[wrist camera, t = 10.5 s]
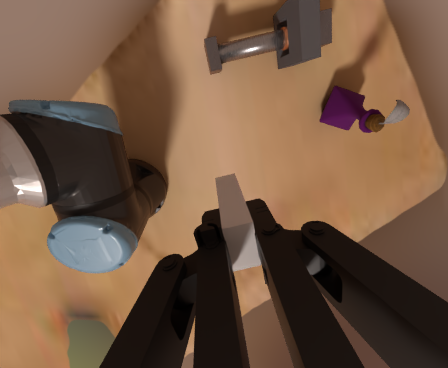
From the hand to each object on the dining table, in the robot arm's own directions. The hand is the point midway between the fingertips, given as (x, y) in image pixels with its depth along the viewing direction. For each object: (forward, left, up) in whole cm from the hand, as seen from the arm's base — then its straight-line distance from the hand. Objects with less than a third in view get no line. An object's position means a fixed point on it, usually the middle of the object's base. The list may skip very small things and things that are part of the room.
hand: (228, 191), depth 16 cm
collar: (+17, +13, -34) cm, 41 cm away
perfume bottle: (+28, -2, -35) cm, 45 cm away
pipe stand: (+13, +13, -34) cm, 39 cm away
